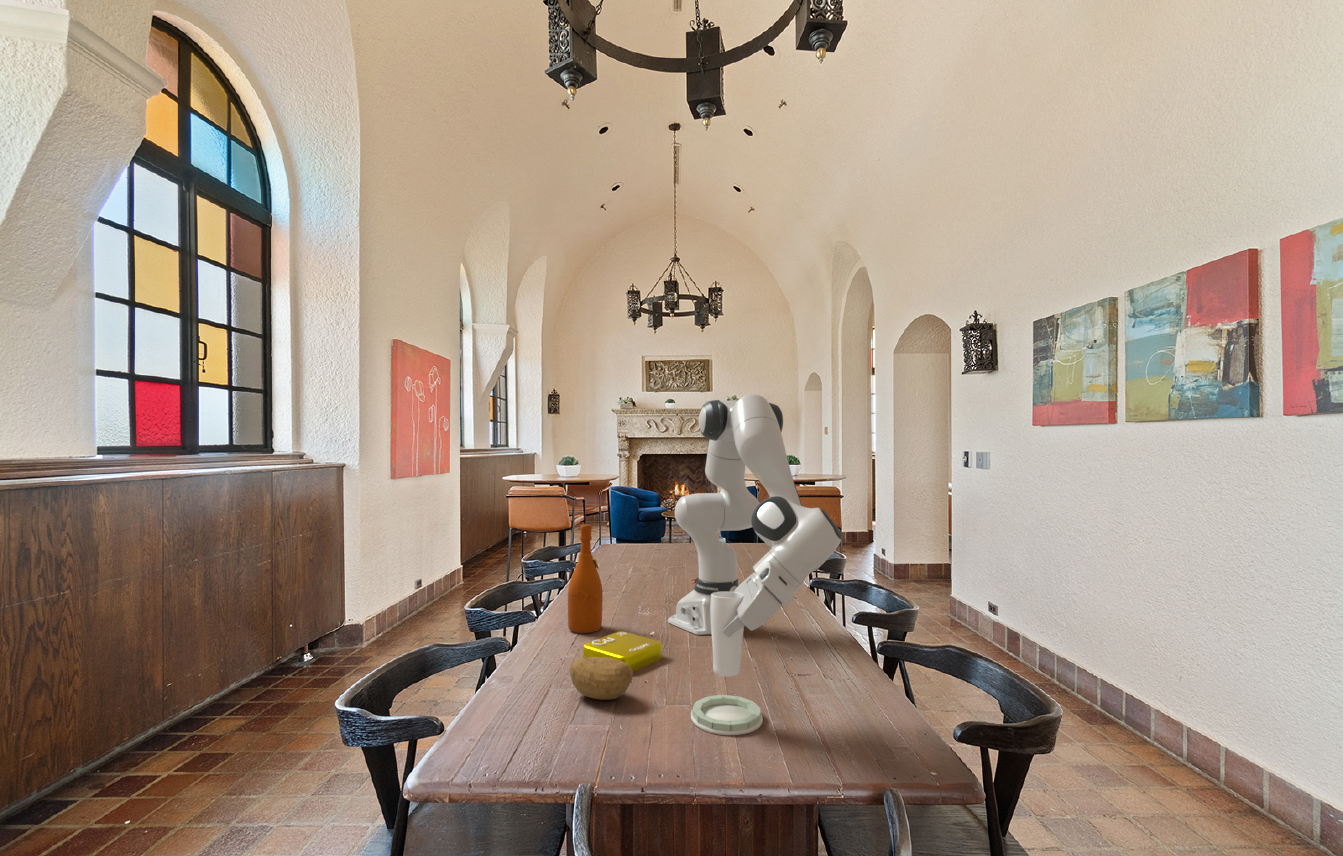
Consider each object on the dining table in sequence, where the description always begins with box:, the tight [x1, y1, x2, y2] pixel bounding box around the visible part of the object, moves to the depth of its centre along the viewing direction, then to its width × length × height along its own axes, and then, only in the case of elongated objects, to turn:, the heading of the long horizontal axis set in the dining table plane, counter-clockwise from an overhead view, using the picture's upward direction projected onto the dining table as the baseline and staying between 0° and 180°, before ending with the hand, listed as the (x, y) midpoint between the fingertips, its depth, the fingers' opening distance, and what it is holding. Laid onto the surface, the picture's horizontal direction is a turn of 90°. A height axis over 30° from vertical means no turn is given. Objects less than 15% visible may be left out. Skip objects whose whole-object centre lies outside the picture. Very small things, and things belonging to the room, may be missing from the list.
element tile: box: [582, 630, 663, 673], centre depth 151 cm, size 15×15×5 cm
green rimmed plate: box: [690, 694, 764, 737], centre depth 119 cm, size 14×14×2 cm
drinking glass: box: [710, 592, 745, 677], centre depth 119 cm, size 7×7×15 cm
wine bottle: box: [567, 523, 603, 634], centre depth 175 cm, size 10×10×30 cm
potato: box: [569, 657, 634, 701], centre depth 128 cm, size 10×14×8 cm
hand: (724, 627), depth 120 cm, fingers closed on drinking glass, 6 cm apart
